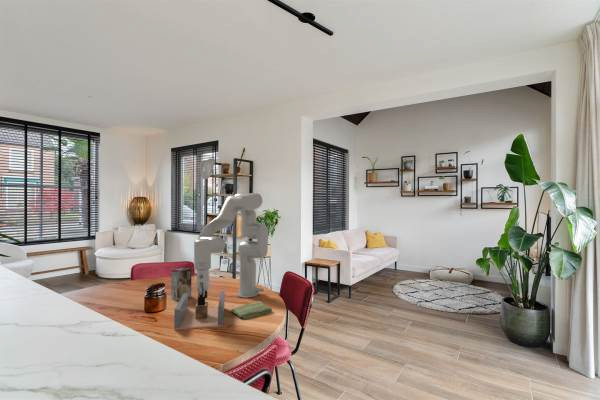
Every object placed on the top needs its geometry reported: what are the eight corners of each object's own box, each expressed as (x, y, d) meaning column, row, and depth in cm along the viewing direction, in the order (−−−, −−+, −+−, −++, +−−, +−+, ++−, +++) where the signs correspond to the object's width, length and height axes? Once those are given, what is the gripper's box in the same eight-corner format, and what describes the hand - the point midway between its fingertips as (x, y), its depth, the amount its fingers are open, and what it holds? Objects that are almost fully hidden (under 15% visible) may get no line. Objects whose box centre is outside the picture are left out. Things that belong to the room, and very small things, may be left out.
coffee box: (185, 294, 180) (185, 267, 180) (191, 296, 176) (192, 268, 176) (170, 298, 172) (170, 269, 172) (176, 300, 168) (177, 271, 168)
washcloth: (229, 312, 153) (229, 306, 153) (261, 305, 163) (261, 299, 163) (240, 321, 143) (241, 314, 143) (273, 313, 153) (273, 307, 153)
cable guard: (224, 309, 158) (224, 291, 158) (222, 327, 135) (222, 306, 135) (183, 311, 154) (183, 293, 154) (174, 330, 131) (174, 309, 131)
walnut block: (207, 314, 147) (207, 302, 147) (206, 318, 142) (206, 305, 142) (196, 315, 146) (196, 302, 146) (195, 319, 141) (195, 306, 141)
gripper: (209, 269, 137) (209, 307, 137) (212, 261, 154) (212, 295, 154) (191, 270, 135) (191, 308, 136) (196, 261, 152) (196, 296, 153)
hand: (202, 301), depth 145 cm, fingers open, 9 cm apart
